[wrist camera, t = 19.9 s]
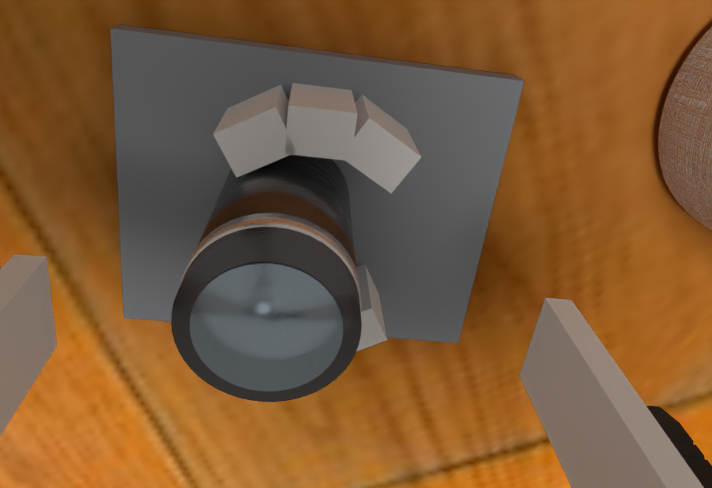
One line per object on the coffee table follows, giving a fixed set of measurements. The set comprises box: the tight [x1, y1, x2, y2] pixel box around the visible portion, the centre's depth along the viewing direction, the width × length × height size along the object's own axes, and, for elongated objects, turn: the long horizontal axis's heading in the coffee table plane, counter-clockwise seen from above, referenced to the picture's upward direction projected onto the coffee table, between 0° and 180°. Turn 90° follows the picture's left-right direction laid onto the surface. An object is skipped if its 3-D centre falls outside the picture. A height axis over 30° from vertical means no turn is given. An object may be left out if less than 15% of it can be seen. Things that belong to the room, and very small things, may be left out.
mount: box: [110, 25, 524, 352], centre depth 23 cm, size 12×15×5 cm
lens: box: [171, 155, 362, 402], centre depth 20 cm, size 5×5×9 cm
